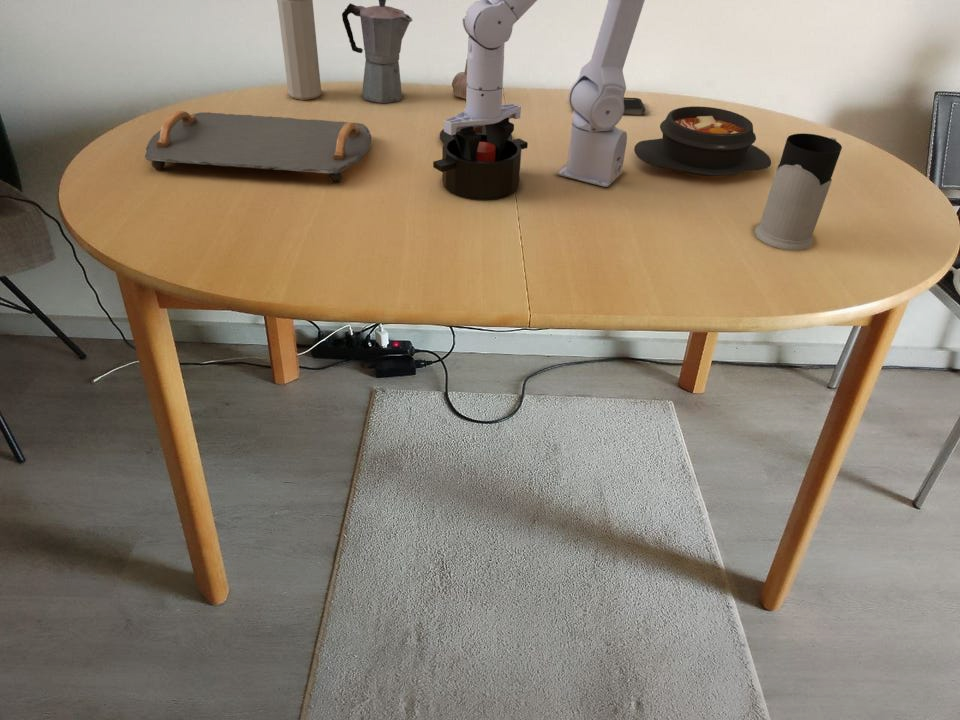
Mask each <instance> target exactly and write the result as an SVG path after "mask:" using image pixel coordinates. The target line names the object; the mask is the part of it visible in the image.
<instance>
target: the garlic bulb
mask: <svg viewBox="0 0 960 720" xmlns="http://www.w3.org/2000/svg"><path fill="white" fill-rule="evenodd" d="M464 67H465V68H464V71H459V72H458V73H457V74H456V75H455V76H454V77H453V78H452V82H451V87H452V92H453V94H454V96H456V97H457V98H461V99H463V100H466V89H467V58H466V60H465V66H464Z"/></svg>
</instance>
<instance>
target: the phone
mask: <svg viewBox="0 0 960 720" xmlns="http://www.w3.org/2000/svg"><path fill="white" fill-rule="evenodd" d="M645 111H646V107H645V105H644V103H643V100H642V99H641V98H638V97H625V96H624V113H623V115H632V116H644V115H645Z"/></svg>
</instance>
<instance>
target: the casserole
mask: <svg viewBox="0 0 960 720" xmlns="http://www.w3.org/2000/svg"><path fill="white" fill-rule="evenodd" d="M659 129H660V131H661V133H662V137H661V138H655V139H646V140H641V141H638V142H637V143H636V144H635V145H634V148H633V151H634V153H635V155H636V156H637V158H639V159H640V160H641V161H643V162H644V163H645V164H648V166H649V165H650V166H652V167H657V168H662V169H669V170H676V171H680V172H684V173H687V174H691V175H694V176H695V175H696V176H702V177H704V176H705V177H727V176H735V175H739V174H742V173H746V172H752V171H760V170H766V169H768V168H770V167H771V166H772V159H771V158H770V156H769V155H768V154H767V153H766V151H764V150H763V149H761V148H759V147H758V146H756V145H753V144H754V143H755V142H756V140H757V136H756V134H755V132H754V124H753V123H752V120H750V119H749V118H747V117H745V116H744V115H742V114H739V113H737V112H734V111H731V110H727V109H723V108H717V107H710V106H695V105H693V106H682V107H678V108H675V109H672V110H671V111H669V112H668V114H667V116H666V117H665V119H664V120H662V121H661V123H660V125H659Z"/></svg>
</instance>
